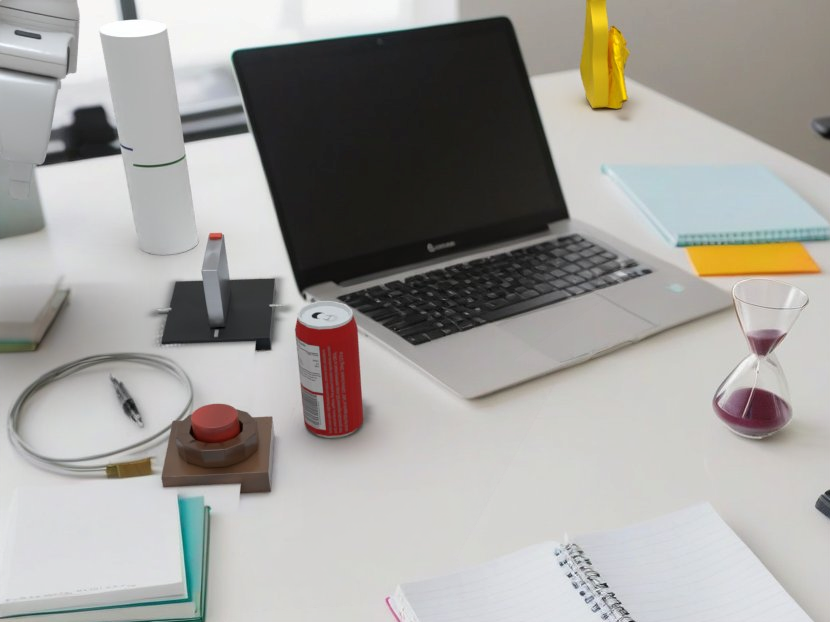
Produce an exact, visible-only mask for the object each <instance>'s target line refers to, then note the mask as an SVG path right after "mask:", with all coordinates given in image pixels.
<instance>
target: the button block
mask: <svg viewBox="0 0 830 622" xmlns="http://www.w3.org/2000/svg"><path fill="white" fill-rule="evenodd" d="M235 409H236V408H235ZM236 410H237V412H238V418H239V425H240V432H239V434H238V436H236V437H235V438H233V439H230V440H228V441H225V442H222V443H204V442H200V441H198V440H196V438H195V437H194V434H193V428H192V422H191V416H192V414H193V413H191V414H189V415H188V416H186V417H185V418H184V419H182V420H172V423H171V428H170V432H169V438H168V441H167V447H166V452H165V457H164V462H163V467H162V471H161V472H162V473H161V476H160V478H161V479H160V480H161V483H162V488H174V487H175V488H176V487H195V486H213V485H234V484H236V485H237V484H240V487H239V495H240V494H243V495H244V494H260V493H271V492H272V483H273V482H272V481H273V465H274V455H275V454H274V453H275V451H274V450H275V439H276V435H275V425H274V418H273V416H252V415H251V414H250V413H249V412H248V411H244V410H240V409H236Z"/></svg>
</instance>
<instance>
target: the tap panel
mask: <svg viewBox="0 0 830 622" xmlns="http://www.w3.org/2000/svg"><path fill="white" fill-rule="evenodd" d="M230 285H231V292H230V298H229V305H228V311H227V318H226V324H225V327H210V325H209V319H208V312H207V305H206V298H205V292H204V285H203V280H181V281H175V283H174V286H173V290H172V291H173V292H172V296H171V299H170V304H169V307H158V308H157V312H167V316H166V321H165V325H164V329H163V331H162V332H163V333H162V337H161V341H160V342H161V345H181V344H183V345H185V344H206V343H210V344H211V343H237V342H255V346H254V351H255V352H256V351H272V345H273V344H272V343H273V331H274V319H275V309H276V308H283V305H284V304H283V303H279V304H278V303H276V296H277V286H276V278H242V279H240V278H239V279H230Z"/></svg>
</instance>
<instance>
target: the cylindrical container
mask: <svg viewBox="0 0 830 622" xmlns="http://www.w3.org/2000/svg"><path fill="white" fill-rule="evenodd" d="M98 32H99V38H100V43H101V48H102V53H103V58H104V59H103V60H104V64H105V71H106V74H107V76H106V77H107V81H108V87H109V92H110V97H111V103H112V108H113V113H114V120H115V125H116V130H117V136H118V141H119V147H120V151H121V152H120V153H121V157H122V164H123V168H124V173H125V174H124V175H125V180H126V184H127V190H128V196H129V202H130V206H131V207H130V208H131V212H132V217H133V224H134V229H135V235H136V241H137V246H138V248H139V249H140V250H141V251H142V252H144V253H146V254H151V255H155V256H156V255H158V256H168V255H177V254H181V253H186V252H188V251H190V250H192V249H194V248H195V247H196V246H197V245H198V244H199V234H198V228H197V221H196V214H195V207H194V200H193V194H192V187H191V181H190V174H189V166H188V161H187V159H188V158H187V154H186V147H185V140H184V134H183V133H184V132H183V127H182V120H181V114H180V106H179V100H178V93H177V86H176V79H175V74H174V66H173V59H172V53H171V47H170V46H171V45H170V41H169V40H170V39H169V33H168V26H167V25H166V23H164V22H160V21H157V20H151V19H126V20H117V21H112V22H109V23H106V24H104V25H102V26H100V27H99V29H98Z"/></svg>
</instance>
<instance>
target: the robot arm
mask: <svg viewBox="0 0 830 622" xmlns="http://www.w3.org/2000/svg"><path fill="white" fill-rule="evenodd" d="M80 13H81V12H80V9H79V4H78V0H0V156H1V158H2V159H4V160H7V161H8V196H9V198H11V199H12V200H18V201H27V200H29V198H30V194H31V193H30V191H31V180H32V174H33V168H34V165H39V166H40V165H43V164H44V162H45V160H46V157H47V153H48V149H49V145H50V140H51V133H52V127H53V122H54V116H55V110H56V104H57V98H58V92H59V90H61V88H62V80H64V79H66V77H67V76H68V75H70V74H76V73H77V71H78V69H77V68H78V55H79V38H80V24H81V23H80V22H81V14H80Z"/></svg>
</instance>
